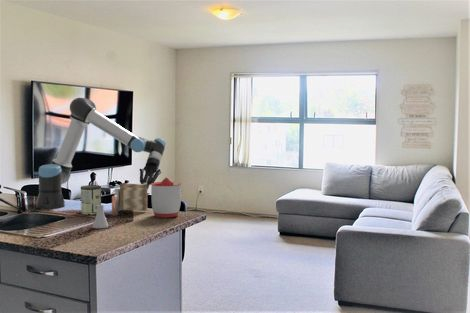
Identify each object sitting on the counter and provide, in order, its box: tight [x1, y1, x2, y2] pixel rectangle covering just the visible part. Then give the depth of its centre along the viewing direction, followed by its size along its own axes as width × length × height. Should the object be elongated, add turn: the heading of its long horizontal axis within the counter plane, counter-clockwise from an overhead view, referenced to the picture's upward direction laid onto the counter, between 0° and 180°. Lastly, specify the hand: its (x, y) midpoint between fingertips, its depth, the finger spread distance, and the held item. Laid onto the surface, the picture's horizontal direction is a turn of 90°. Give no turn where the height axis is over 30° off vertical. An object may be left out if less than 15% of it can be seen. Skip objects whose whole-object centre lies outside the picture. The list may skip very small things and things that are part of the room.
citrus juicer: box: [150, 177, 183, 219], centre depth 237 cm, size 16×17×20 cm
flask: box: [92, 204, 109, 229], centre depth 210 cm, size 7×7×10 cm
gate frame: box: [111, 188, 121, 217], centre depth 243 cm, size 15×3×12 cm, turn 6°
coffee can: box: [80, 184, 102, 215], centre depth 242 cm, size 10×10×14 cm
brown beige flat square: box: [119, 182, 148, 212], centre depth 247 cm, size 15×2×14 cm, turn 78°
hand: (142, 193), depth 252 cm, fingers closed
